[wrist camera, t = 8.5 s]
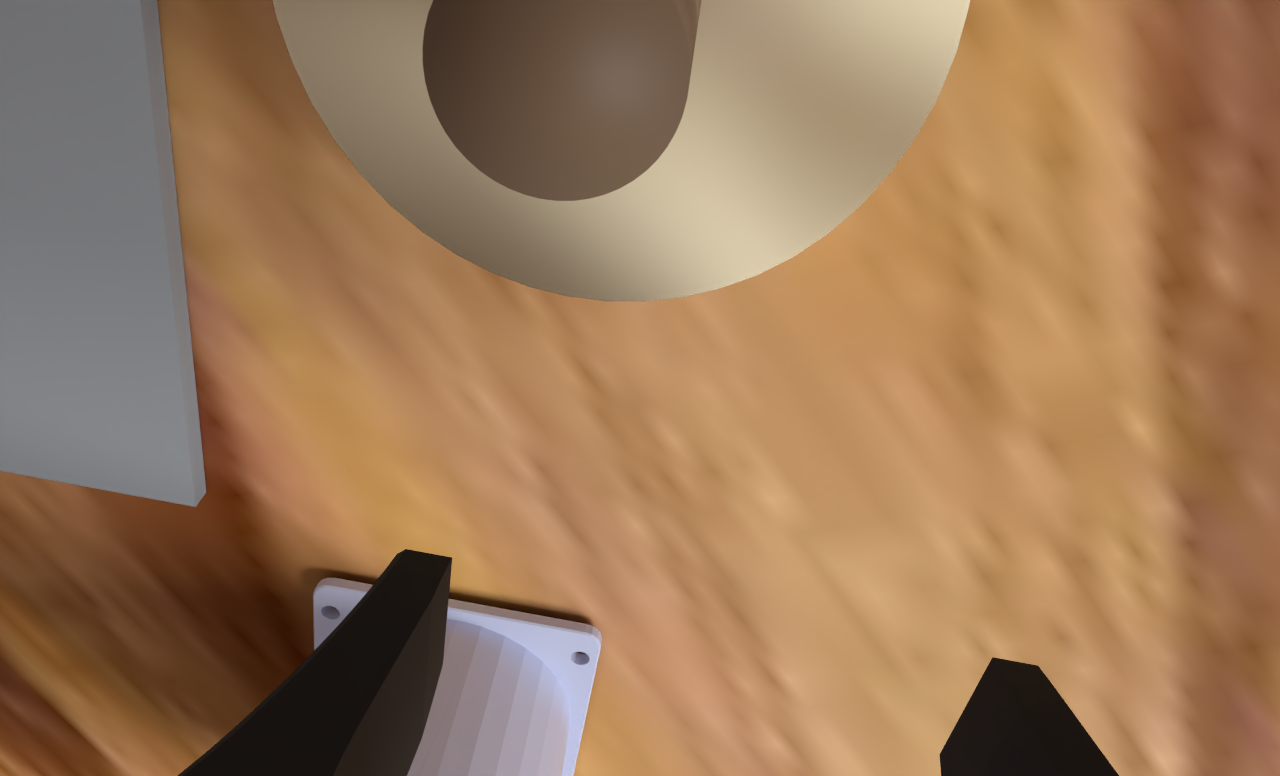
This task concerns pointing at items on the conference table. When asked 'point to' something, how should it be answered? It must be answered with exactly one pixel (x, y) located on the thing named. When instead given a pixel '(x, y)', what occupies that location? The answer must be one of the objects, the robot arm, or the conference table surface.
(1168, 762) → the conference table surface
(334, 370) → the conference table surface
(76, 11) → the mat
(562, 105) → the lid
